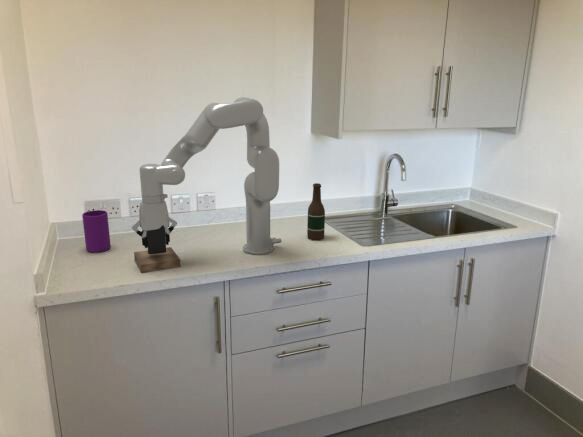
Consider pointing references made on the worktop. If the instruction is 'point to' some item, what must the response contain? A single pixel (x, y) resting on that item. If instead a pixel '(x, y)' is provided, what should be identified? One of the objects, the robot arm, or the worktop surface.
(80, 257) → the worktop surface
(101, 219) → the mug
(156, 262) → the plinth
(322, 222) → the beer bottle
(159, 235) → the battery charger
